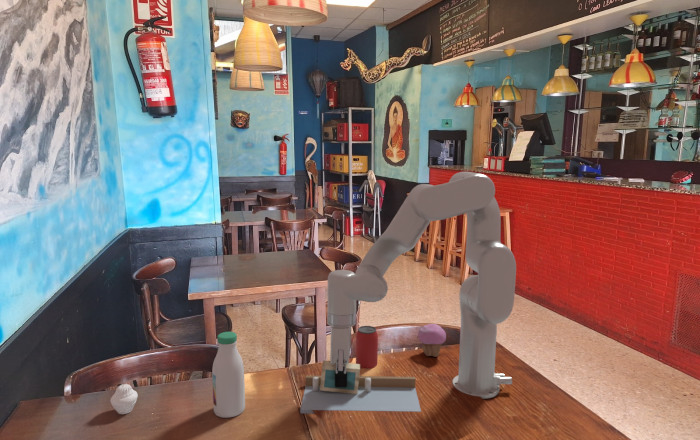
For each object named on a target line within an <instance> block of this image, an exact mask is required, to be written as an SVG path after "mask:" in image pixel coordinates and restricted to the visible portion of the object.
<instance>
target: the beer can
mask: <svg viewBox="0 0 700 440" xmlns="http://www.w3.org/2000/svg"><path fill="white" fill-rule="evenodd" d="M378 335H379V334H378V332H377V328H376V327H374V326H371V325H361V326H359V327H358V328H357V331H356V335H355V364H360V370H361V369H364V370H365V369H367V370H368V369H374V368H376V367H377V366H378V354H379V353H378V351H379V345H378V344H379V336H378Z"/></svg>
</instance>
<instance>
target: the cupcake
mask: <svg viewBox="0 0 700 440" xmlns="http://www.w3.org/2000/svg"><path fill="white" fill-rule="evenodd" d="M417 338H418V340H419V342H420V343H421V344H422V351H423V354H424V355H425V356H426V357H434V358H436V357H439V355H440V351H441V347H442V345H443V343H445V342H446V340H447V334H446V330H444V329H443V328H442V327H441V326H440V325H438V324H436V323H428V324H425V325H422V327H421V328H419V329H418V332H417Z"/></svg>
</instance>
